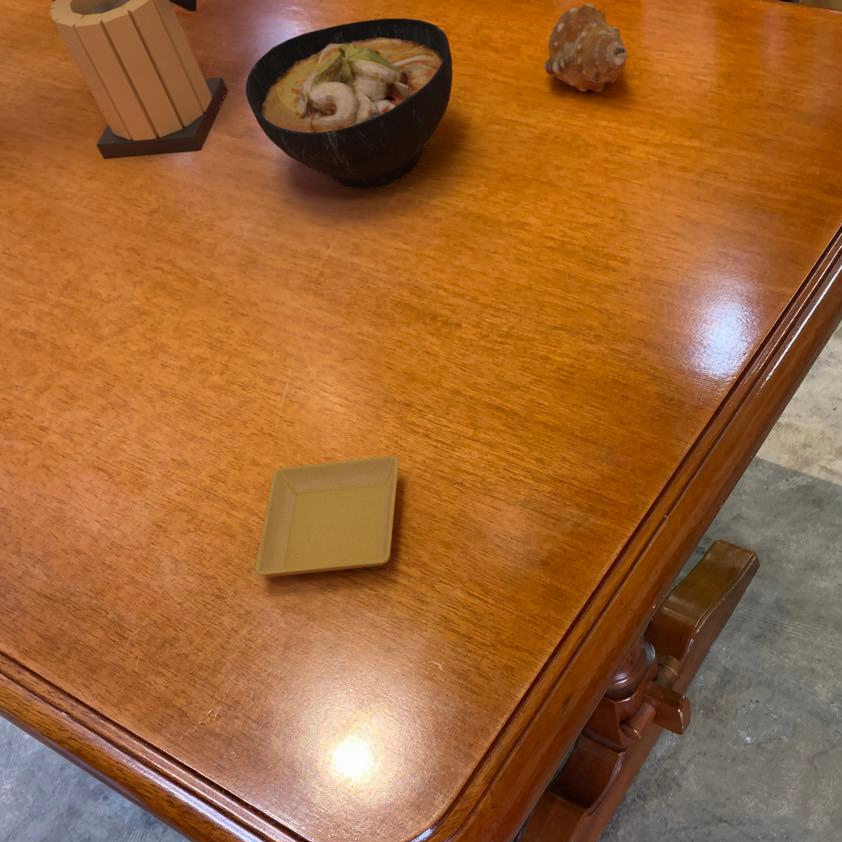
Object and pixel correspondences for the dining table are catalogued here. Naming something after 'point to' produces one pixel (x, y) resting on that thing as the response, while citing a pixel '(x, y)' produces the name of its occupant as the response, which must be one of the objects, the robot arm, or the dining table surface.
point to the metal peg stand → (173, 142)
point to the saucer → (329, 517)
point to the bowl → (355, 97)
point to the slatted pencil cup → (135, 65)
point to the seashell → (585, 49)
